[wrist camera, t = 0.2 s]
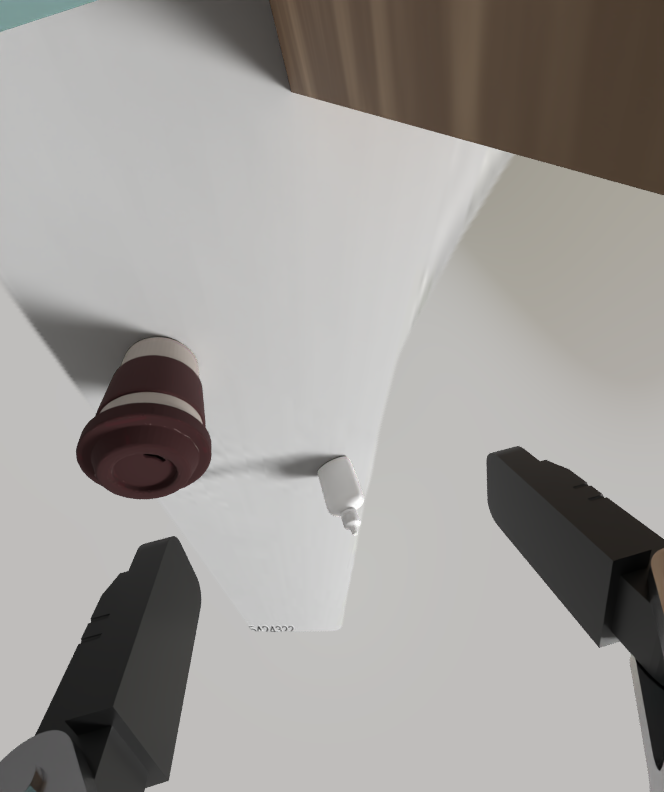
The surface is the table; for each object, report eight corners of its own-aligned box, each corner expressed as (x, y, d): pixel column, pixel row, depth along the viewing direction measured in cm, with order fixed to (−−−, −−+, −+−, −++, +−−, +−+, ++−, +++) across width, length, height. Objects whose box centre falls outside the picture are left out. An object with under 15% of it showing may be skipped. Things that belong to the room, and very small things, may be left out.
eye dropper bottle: (350, 470, 61) (373, 537, 52) (316, 477, 60) (335, 546, 51) (351, 453, 58) (376, 521, 49) (316, 460, 57) (336, 530, 48)
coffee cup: (146, 409, 43) (124, 524, 32) (87, 343, 36) (35, 460, 25) (226, 381, 43) (231, 486, 32) (182, 309, 36) (170, 412, 26)
